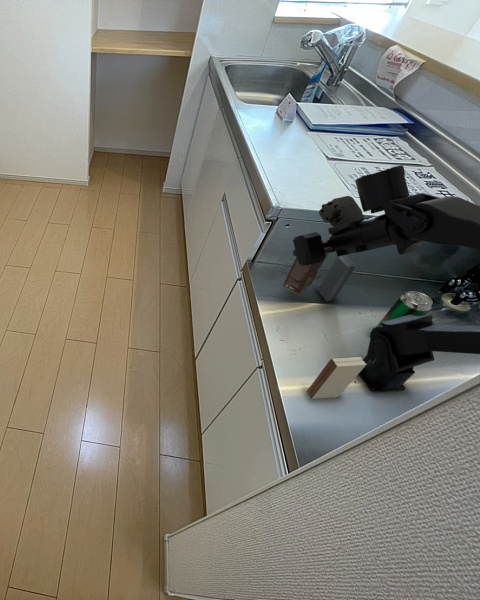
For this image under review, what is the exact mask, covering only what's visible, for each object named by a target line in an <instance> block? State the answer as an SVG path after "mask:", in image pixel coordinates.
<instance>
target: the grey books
mask: <svg viewBox="0 0 480 600" xmlns="http://www.w3.org/2000/svg"><path fill="white" fill-rule="evenodd" d="M355 269H356V265H355V263H353V261H351V259H350V258H349V257H348V256H347V255H343V256H339V257H337V256H336V257H335V259H334V261H333V263H332V264H331V266H330V268H329V270H328V271H327V273H326V275H325V276H324V278H323V280H322V282H321V284H320V286H319V287H318V289H317V292H318V293H319V294H320V296H321V297H322V298H323V300H324V301H325V302H333V301H335V300H336V298H337V297H338V295H339V294H340V292H341V291H342V289H343V287H344V286H345V284H346V283H347V281H348V280H349V278H350V276H351V274H352V273H353V272H354V270H355Z"/></svg>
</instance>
